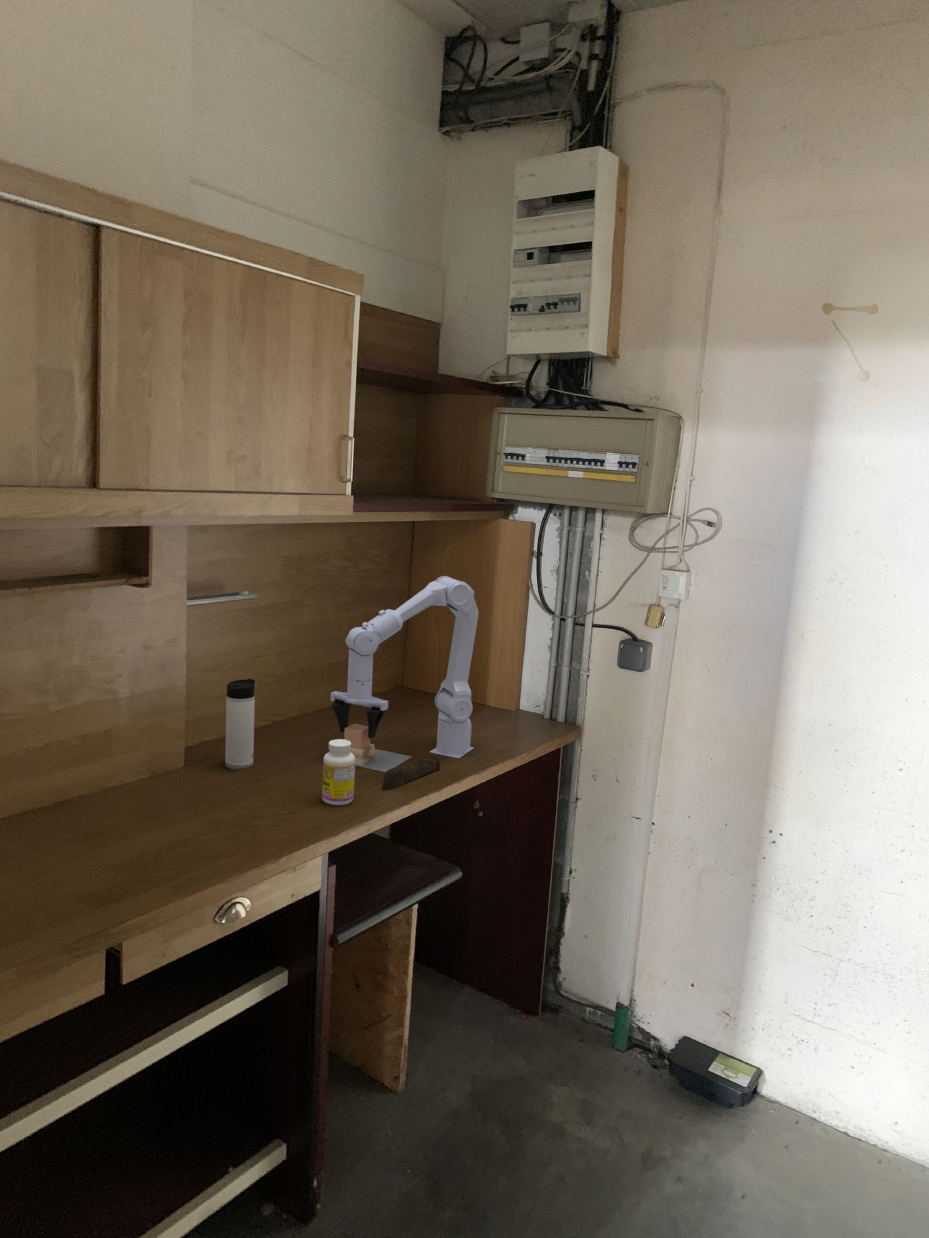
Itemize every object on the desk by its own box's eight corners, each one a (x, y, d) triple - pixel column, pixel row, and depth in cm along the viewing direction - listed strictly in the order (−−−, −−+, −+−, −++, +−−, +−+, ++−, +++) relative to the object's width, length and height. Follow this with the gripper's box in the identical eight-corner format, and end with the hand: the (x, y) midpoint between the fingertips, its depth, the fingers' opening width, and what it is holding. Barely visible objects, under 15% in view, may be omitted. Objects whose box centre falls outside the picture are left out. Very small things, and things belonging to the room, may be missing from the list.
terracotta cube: (353, 741, 220) (354, 723, 219) (369, 744, 218) (370, 726, 217) (343, 746, 216) (344, 728, 215) (360, 750, 214) (361, 731, 213)
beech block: (352, 753, 221) (352, 740, 221) (373, 758, 219) (374, 744, 219) (339, 760, 216) (339, 746, 215) (361, 765, 214) (361, 751, 213)
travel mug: (260, 765, 211) (261, 681, 208) (236, 772, 206) (238, 686, 202) (243, 758, 215) (244, 676, 211) (219, 764, 210) (220, 680, 206)
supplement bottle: (320, 795, 196) (322, 737, 193) (351, 793, 197) (353, 737, 195) (323, 807, 189) (325, 748, 187) (355, 805, 191) (358, 747, 189)
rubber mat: (362, 748, 228) (362, 746, 228) (412, 758, 222) (412, 756, 222) (334, 762, 216) (334, 760, 216) (386, 774, 211) (386, 772, 211)
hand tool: (426, 769, 217) (427, 750, 216) (440, 773, 214) (441, 754, 213) (373, 790, 201) (374, 769, 201) (387, 794, 199) (387, 774, 198)
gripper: (324, 677, 213) (322, 733, 216) (378, 687, 208) (376, 744, 210) (340, 671, 220) (338, 725, 222) (393, 680, 214) (390, 736, 216)
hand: (357, 734), depth 216 cm, fingers open, 7 cm apart
